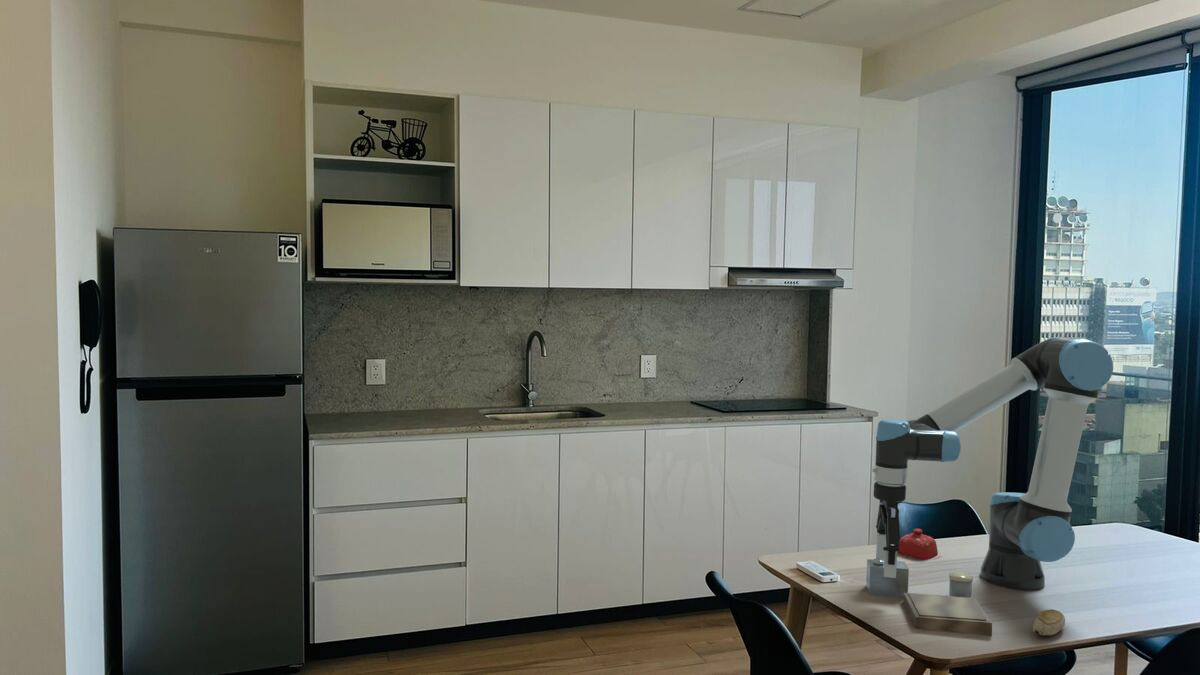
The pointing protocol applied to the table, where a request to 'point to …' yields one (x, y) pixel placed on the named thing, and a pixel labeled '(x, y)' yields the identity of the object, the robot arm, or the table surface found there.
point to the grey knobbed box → (886, 579)
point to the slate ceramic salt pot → (960, 584)
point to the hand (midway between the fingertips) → (885, 568)
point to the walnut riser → (947, 614)
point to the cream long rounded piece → (1048, 622)
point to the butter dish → (918, 546)
